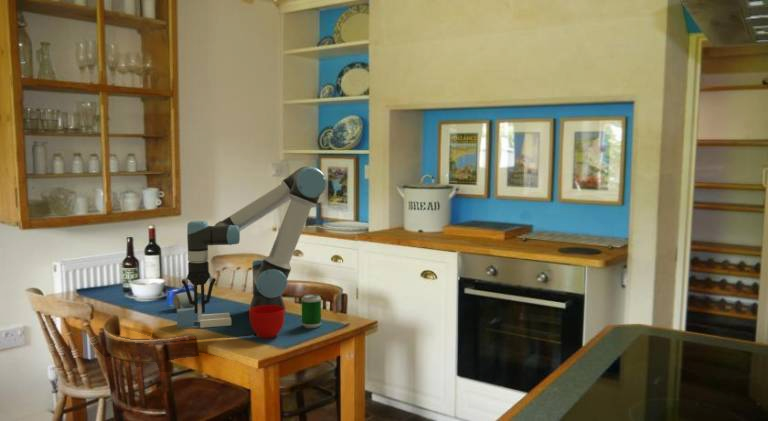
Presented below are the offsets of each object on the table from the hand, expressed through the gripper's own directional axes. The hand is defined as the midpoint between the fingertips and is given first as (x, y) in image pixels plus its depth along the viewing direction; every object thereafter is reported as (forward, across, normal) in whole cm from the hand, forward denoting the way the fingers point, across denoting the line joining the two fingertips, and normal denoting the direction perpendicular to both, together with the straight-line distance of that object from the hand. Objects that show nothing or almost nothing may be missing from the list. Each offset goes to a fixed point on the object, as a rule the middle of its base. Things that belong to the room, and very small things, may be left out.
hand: (199, 321), depth 246 cm
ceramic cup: (+2, -22, +18) cm, 29 cm away
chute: (+2, -2, 0) cm, 3 cm away
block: (+1, +5, 0) cm, 5 cm away
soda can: (+2, -42, +12) cm, 43 cm away
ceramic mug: (+3, +5, -30) cm, 30 cm away
